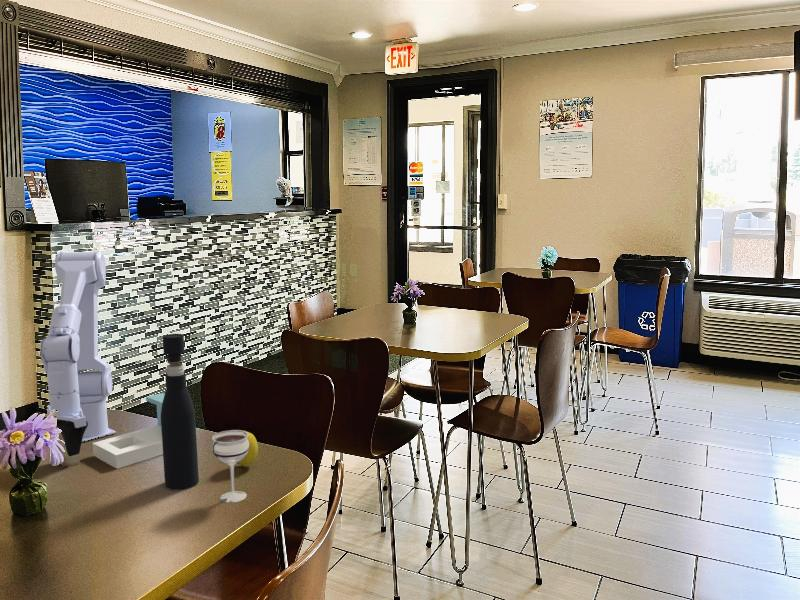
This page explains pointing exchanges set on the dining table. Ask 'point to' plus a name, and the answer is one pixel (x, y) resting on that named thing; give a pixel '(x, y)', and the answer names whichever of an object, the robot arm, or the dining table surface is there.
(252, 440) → the lemon
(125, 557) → the dining table surface
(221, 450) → the wineglass
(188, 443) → the wine bottle
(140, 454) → the socket block
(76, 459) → the peg
